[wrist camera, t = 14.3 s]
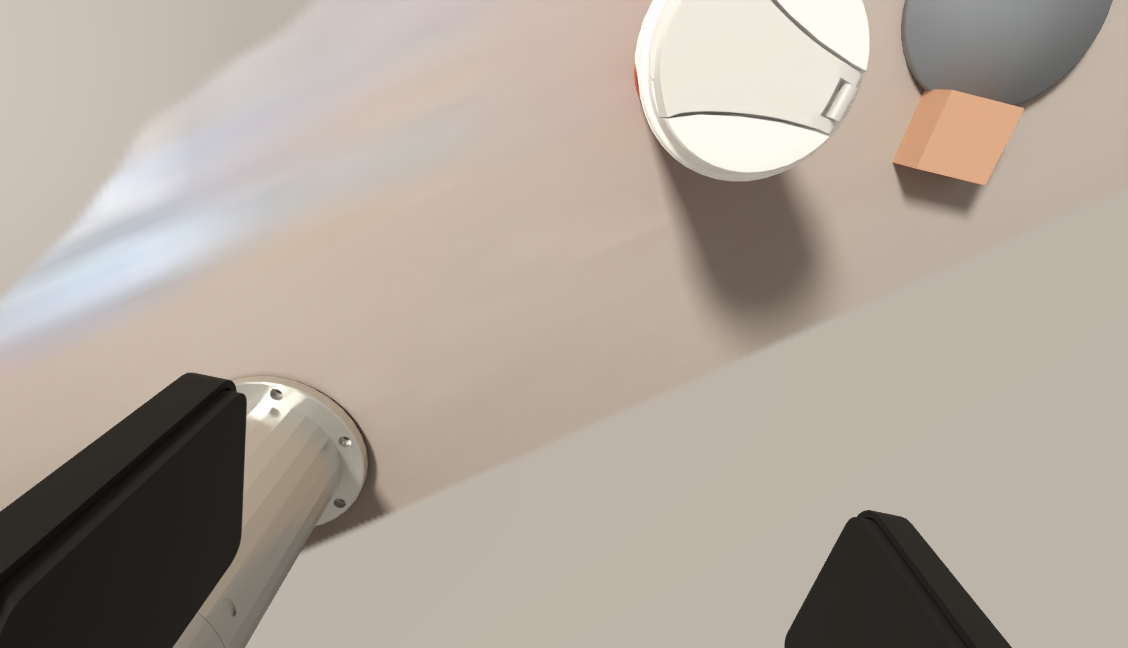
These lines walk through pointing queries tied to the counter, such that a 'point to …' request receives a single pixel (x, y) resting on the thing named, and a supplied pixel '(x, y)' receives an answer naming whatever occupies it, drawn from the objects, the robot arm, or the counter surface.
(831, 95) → the paper cup
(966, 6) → the gray paddle
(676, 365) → the counter surface
